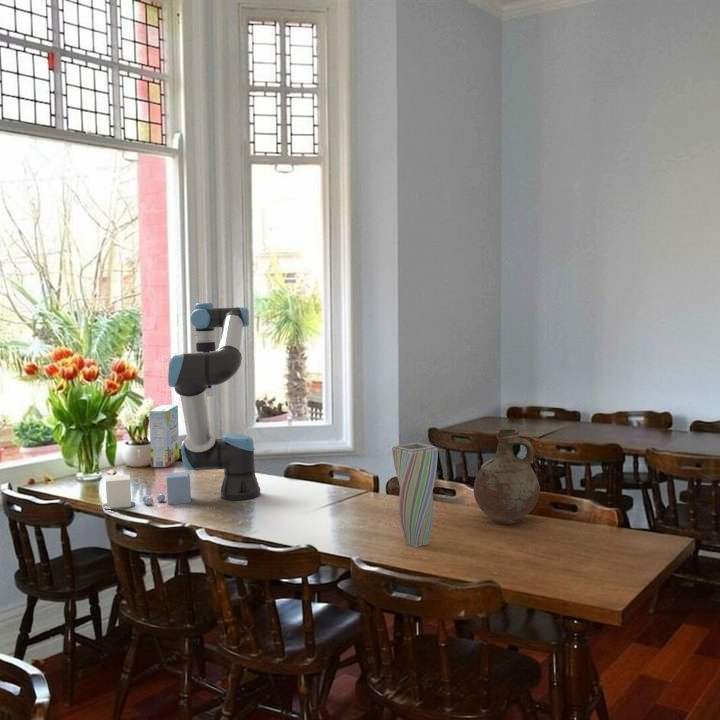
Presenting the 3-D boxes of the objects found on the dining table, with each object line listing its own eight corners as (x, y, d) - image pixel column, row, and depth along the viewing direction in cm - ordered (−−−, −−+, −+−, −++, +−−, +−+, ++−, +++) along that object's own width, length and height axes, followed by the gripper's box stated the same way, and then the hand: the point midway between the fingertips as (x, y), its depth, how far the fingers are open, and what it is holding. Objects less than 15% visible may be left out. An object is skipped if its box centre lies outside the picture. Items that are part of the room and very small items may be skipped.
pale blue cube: (189, 497, 328) (188, 471, 327) (191, 502, 320) (189, 476, 319) (167, 499, 326) (165, 473, 325) (167, 504, 318) (166, 478, 317)
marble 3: (155, 501, 323) (163, 503, 323) (156, 499, 320) (164, 501, 321) (157, 494, 324) (165, 495, 325) (158, 491, 321) (166, 493, 322)
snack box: (169, 467, 383) (167, 410, 381) (150, 468, 383) (147, 411, 381) (181, 457, 405) (178, 403, 402) (162, 458, 405) (159, 404, 402)
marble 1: (148, 504, 322) (153, 499, 321) (144, 505, 319) (149, 500, 319) (144, 497, 323) (149, 493, 322) (139, 498, 320) (145, 493, 319)
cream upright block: (131, 500, 322) (129, 474, 321) (131, 506, 314) (129, 479, 313) (108, 503, 320) (106, 476, 319) (107, 508, 312) (105, 481, 311)
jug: (475, 511, 296) (473, 424, 294) (539, 512, 292) (538, 424, 290) (472, 528, 275) (471, 436, 272) (541, 530, 271) (540, 436, 269)
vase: (414, 553, 252) (411, 452, 249) (385, 542, 263) (383, 446, 260) (448, 544, 260) (446, 446, 257) (419, 534, 271) (417, 440, 268)
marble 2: (154, 504, 319) (154, 496, 319) (149, 506, 316) (149, 498, 316) (148, 503, 320) (148, 495, 320) (143, 505, 318) (143, 497, 317)
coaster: (141, 503, 320) (141, 502, 320) (120, 511, 310) (120, 509, 310) (118, 501, 325) (118, 499, 325) (97, 508, 315) (97, 507, 315)
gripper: (193, 340, 354) (196, 391, 356) (198, 343, 330) (200, 398, 332) (212, 339, 356) (214, 390, 358) (217, 343, 332) (220, 397, 334)
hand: (207, 394), depth 345 cm, fingers open, 13 cm apart
